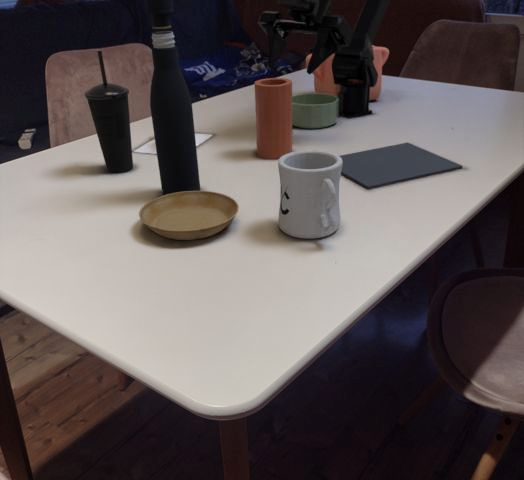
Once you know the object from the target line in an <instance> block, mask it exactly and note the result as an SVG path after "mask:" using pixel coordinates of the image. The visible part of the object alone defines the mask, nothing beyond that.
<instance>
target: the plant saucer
mask: <svg viewBox="0 0 524 480" xmlns="http://www.w3.org/2000/svg"><path fill="white" fill-rule="evenodd" d="M239 209H240V206H239V203H238V201H236V200H235V199H234V198H233V197H231V196H228V195H227V194H224V193H221V192H215V191H208V190H201V191H184V192H177V193H172V194H167V195H164V196H163V195H161V196H159V197H155V198H153V199H151V200H150V201H148V202H147V203H146V202H145V204H144V205H143V206H141V208H140V210H139V211H138V217H139V219H140V220H141V222H142V223H143V224H144V225H145V226H146V227H147V228H148V229H150V230H151V231H153V232H155V233H156V234H158V235H160V236H161V237H163V238H167V239H169V240H170V239H171V240H176V241H194V240H195V241H196V240H200V239H204V238H209V237H212V236H214V235H217V234H218V233H220V232H222V230H224V229H225V228H227V226H228V225H229V224H230V223H231V222H232V221H233V220H234V218H235V217H236V216H237V214H238V213H239Z"/></svg>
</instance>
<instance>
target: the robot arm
mask: <svg viewBox="0 0 524 480" xmlns="http://www.w3.org/2000/svg"><path fill="white" fill-rule="evenodd" d="M331 2H332V0H278V1H277V5H278V6H279V7H281V6H282V7H284V8H286V9H287V11H286V13H287V15H288V16H290V17H292V19H291V20H290V19H286V18H285V17H284V16H283V14H282V13H281V11H274V10H273V11H272V10H265V11H262V12H261V13H260V16H259V19H258V21H257V24H258V25H259V26H260V28H261V29H262V31H263V32H264V33H265V34H266V36H267V44H268V45H267V46H268V47H267V48H268V49H267V68H268V69H269V70H271V71H272V70H273V69H274V67H275V66H276V64H278V61H279V60H280V58H281V55H282V54H283V53H284V51H285V48H286V46H287V44H288V42H287V40H288V39H289V37H290V35H291V33H299V34H308V35H316V43H315V45H314V48H313V51H312V53H311V54H312V56H311V58H310V61H309V64H308V67H307V66H306V73H307V74H308V75H312V74H313V73H312V72H313V71H315V70H316V69H317V68H318V67H319V66H320V65H321V64H322V63H323V62H324V61H325V60H326V59H327V58H329V57H330V56H331V55H332V54H335V55H334V57H333V59H332V73H333V79H334V84H340V92H338V99H339V109H338V114H340V115H343V116H345V117H348V118H354V117H359V116H365V115H371V114H373V110H371V109H370V100H369V96H370V87H375V85H376V83H377V78H378V73H377V71H376V68H375V66H374V64H373V60H374V54H373V47H372V45H374V44H373V43H374V41H375V39H376V37H377V34H378V32H379V29H380V26H381V25H382V22H383V19H384V17H385V15H386V12H387V9H388V8H389V5H390V2H391V0H365V2H364V5H363V7H362V9H361V12H360V14H359V16H358V19H357V21H356V24H355V26H354V28H353V30H352V28H351V27H350V25H349V24H348V22H347V20H346V18H345V17H344V15H342V14H341V15H340V14H327V13H332V12H333V8H334V6H333V5H332V3H331Z"/></svg>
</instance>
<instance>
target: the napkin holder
mask: <svg viewBox="0 0 524 480" xmlns="http://www.w3.org/2000/svg"><path fill="white" fill-rule="evenodd" d="M212 136H214V134H208V133H207V134H206V133H197V132H195V140H196V147H198V146H199V145H201V144H203V143H204V142H205V141H207V140H208V139H210V138H211V137H212ZM132 153H141V154H153V155H157V151H156V144H155V138H153V139H152V140H150V141H148V142H147V143H145V144H143V145H142V146H140V147H138V148H136V149H134V150H132Z"/></svg>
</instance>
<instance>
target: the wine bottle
mask: <svg viewBox="0 0 524 480" xmlns="http://www.w3.org/2000/svg"><path fill="white" fill-rule="evenodd" d="M144 4H145V6H144V7H145V12H146V14H151V23H152V30H154V32H152V33H151V39H152V42H151V43H152V45H153V47H151V56H152V65H153V71H152V77H151V82H150V83H151V84H150V94H149V107H150V108H149V109H150V115H151V122H152V128H153V129H152V130H153V136H154V139H155V144H156V151H157V154H156V158H157V164H158V171H159V172H158V173H159V179H160V186H161V192H162V193H161V194H162V196H164V195H167V194H172V193H177V192H184V191H202V190H201V182H200V181H201V179H200V172H199V163H198V153H197V151H198V150H197V146H196V140H195V133H196V132H195V131H196V130H195V121H194V111H193V101H192V98H191V94H190V91H189V87H188V83H187V82H186V80H185V77H184V73H182V70H181V68H180V61H179V51H178V47H177V46H176V45H175V44H176V41H175V34H174V32H173V31H169V30H170V29H171V28H172V24H171V19H170V13H173V12H174V10H175V9H174V1H173V0H144Z"/></svg>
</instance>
